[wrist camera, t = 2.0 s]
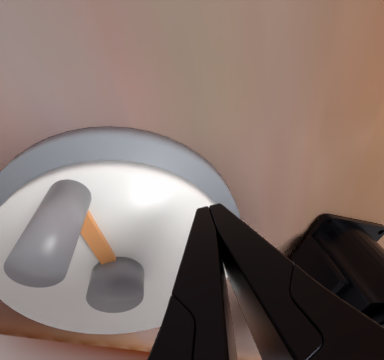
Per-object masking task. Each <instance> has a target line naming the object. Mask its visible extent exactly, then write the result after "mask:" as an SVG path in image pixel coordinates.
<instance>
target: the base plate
mask: <svg viewBox="0 0 384 360" xmlns="http://www.w3.org/2000/svg"><path fill="white" fill-rule="evenodd" d="M97 160H122V161H131V162H138V163H144V164H148V165H152V166H156V167H159V168H163V169H165V170H168V171H170V172H173V173H175V174H178V175H180V176H181V177H183V178H185V179H187V180H189V181H190V182H192V183H194V184H195V185H196V186H197V187H199V188H200V189H201V190H203V191H204V192H205V193H206V194H207V195H208V196H209V197H210V198H211V199H212V200H213V201H214V203H215V204H217V203H221V204H222V205H224V206H225V207H226V208H227V209H228V210H230V211H231V212H232V213H233V214H235V215H236V216H237V217H238V218H240V214H239V211H238V209H237V206H236V204H235V201H234V199H233V197H232V195H231V193H230V190H229V188H228V186H227V185H226V183H225V181H224V180H223V178H222V177H221V175H220V174H219V173H218V172H217V170H216V169H215V168H214V167H213V166H212V165H211V164H210V163H209V162H208V161H207V160H205V159H204V158H203V157H202V156H201V155H200V154H198V153H197V152H195V151H193V150H192V149H190V148H189V147H187V146H186V145H184V144H181V143H179V142H177V141H175V140H173V139H171V138H168V137H165V136H162V135H159V134H156V133H153V132H149V131H144V130H139V129H134V128H125V127H111V126H108V127H89V128H83V129H77V130H72V131H67V132H64V133H61V134H58V135H54V136H51V137H48V138H46V139H44V140H42V141H40V142H38V143H36V144H34V145H32V146H30V147H29V148H27V149H26V150H25V151H23V152H22V153H20V154H19V155H17V156H16V157H15V158H14V159H13V160H12V161H11V162H10V163H9V164H8V165H7V166H6V167H5V168H4V169H3V170H2V171H1V172H0V207H1V205H2V204H3V203H4V202H5V200H6V199H7V198H8V197H9V196H10V195H11V194H12V193H13V192H14V191H16V190H17V189H18V188H19V187H20V186H22V185H23V184H25V183H26V182H28V181H29V180H31V179H32V178H34V177H36V176H38V175H41V174H43V173H45V172H47V171H49V170H52V169H55V168H59V167H62V166H65V165H69V164H74V163H80V162H85V161H97Z"/></svg>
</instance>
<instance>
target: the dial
mask: <svg viewBox="0 0 384 360" xmlns="http://www.w3.org/2000/svg"><path fill="white" fill-rule="evenodd" d="M213 204H215V203H214V201H213V200H212V199H211V198H210V197H209V196H208V195H207V194H206V193H205V192H204V191H203V190H201V189H200V188H199V187H197V186H196V185H195V184H194V183H192V182H190V181H189V180H187V179H185V178H183V177H181V176H180V175H178V174H175V173H173V172H170V171H168V170H165V169H163V168H159V167H156V166H152V165H148V164H144V163H138V162H131V161H122V160H97V161H85V162H80V163H74V164H69V165H65V166H62V167H59V168H55V169H52V170H49V171H47V172H45V173H43V174H41V175H38V176H36V177H34V178H32V179H31V180H29V181H28V182H26V183H25V184H23V185H22V186H20V187H19V188H18V189H17V190H16V191H14V192H13V193H12V194H11V195H10V196H9V197H8V198H7V199H6V200H5V202H4V203H3V204H2V205H1V207H0V300H2V301H3V302H4V303H5V304H6V305H8V306H9V307H10V308H12V309H13V310H15V311H16V312H18V313H20V314H22V315H23V316H25V317H27V318H29V319H32V320H34V321H36V322H39V323H42V324H44V325H47V326H50V327H54V328H58V329H62V330H66V331H72V332H78V333H87V334H123V333H132V332H139V331H144V330H149V329H153V328H157V327H160V326H161V324H162V321H163V318H164V315H165V312H166V309H167V306H168V302H169V299H170V296H171V295H172V294H171V293H172V289H173V286H174V283H175V279H176V276H177V273H178V269H179V266H180V263H181V259H182V256H183V253H184V249H185V246H186V243H187V239H188V236H189V233H190V229H191V226H192V223H193V219H194V216H195V213H196V210H197V209H198V208H201V207H205V206H208V207H209V206H210V205H213ZM223 265H224V264H223ZM224 270H225V268H224ZM225 276H226V279H227V277H228V276H227V273H226V270H225Z"/></svg>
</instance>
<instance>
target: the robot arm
mask: <svg viewBox="0 0 384 360" xmlns="http://www.w3.org/2000/svg"><path fill="white" fill-rule="evenodd" d="M383 235H384V226H383V225H382V224H377V223H372V222H367V221H362V220H357V219H352V218H347V217H342V216H337V215H332V214H324V215H322V216H321V217H320V218H319V219H318V221H317V222H316V223H315V225H314V226H313V227H312V229H311V230H310V231H309V233H308V234H307V235H306V237H305V238H304V239H303V240H302V242H301V243H300V244H299V246H298V247H297V248H296V250H295V251H294V252H293V254H292V255H291V256H290V257H289V259H288V258H287V257H286V256H285V255H284V254H282V253H281V252H280V251H279V250H277V249H276V248H275V247H274V246H273V245H271V244H270V243H269V242H268V241H266V240H265V239H264V238H263V237H262V236H260V235H259V234H258V233H257V232H255V231H254V230H253V229H252V228H251V227H249V226H248V225H247V224H246V223H244V222H243V221H242V220H241V219H240V218H238V217H237V216H236V215H235V214H233V213H232V212H231V211H230V210H228V209H227V208H226V207H225V206H224V205H222V204H221V203H217V204H213V205H210V206H209V207H208V206H205V207H201V208H198V209H197V210H196V213H195V216H194V219H193V223H192V226H191V229H190V233H189V236H188V239H187V243H186V246H185V249H184V253H183V256H182V259H181V263H180V266H179V269H178V273H177V276H176V279H175V283H174V286H173V289H172V293H171V294H172V295H171V296H170V299H169V302H168V306H167V309H166V312H165V315H164V318H163V321H162V324H161V327H160V330H159V332H158V335H157V337H156V340H155V342H154V345H153V347H152V350H151V352H150V355H149V357H148V359H147V360H238V359H237V352H236V345H235V338H234V331H233V325H232V318H231V311H230V304H229V297H228V290H227V283H226V276H225V270H226V273H227V276H228V278H229V280H230V283H231V285H232V288H233V290H234V293H235V295H236V297H237V300H238V302H239V305H240V307H241V310H242V312H243V314H244V317H245V319H246V322H247V324H248V327H249V329H250V331H251V334H252V336H253V339H254V341H255V343H256V346H257V348H258V351H259V353H260V356H261V358H262V360H384V249H383V248H382V247H381V246H380V245H379V244H378V243H377V241H378V240H379V239H380V238H381V237H382V236H383ZM223 264H224V265H223ZM224 268H225V270H224Z"/></svg>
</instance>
